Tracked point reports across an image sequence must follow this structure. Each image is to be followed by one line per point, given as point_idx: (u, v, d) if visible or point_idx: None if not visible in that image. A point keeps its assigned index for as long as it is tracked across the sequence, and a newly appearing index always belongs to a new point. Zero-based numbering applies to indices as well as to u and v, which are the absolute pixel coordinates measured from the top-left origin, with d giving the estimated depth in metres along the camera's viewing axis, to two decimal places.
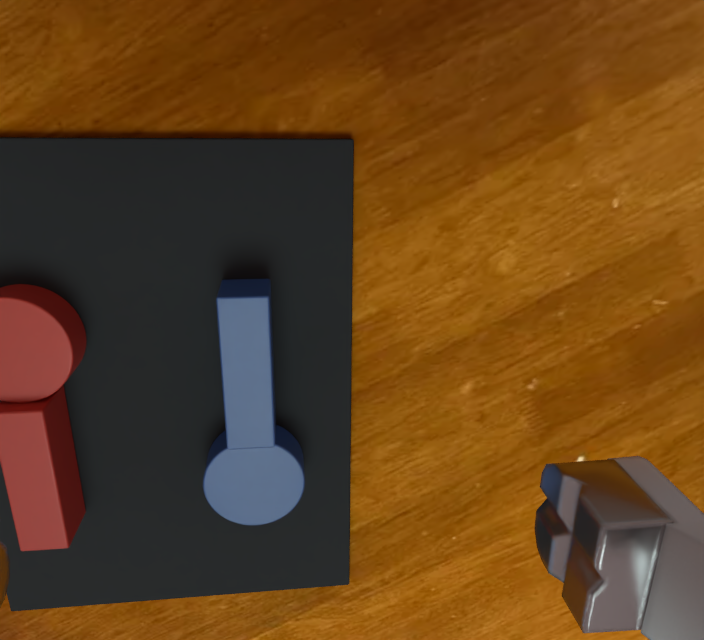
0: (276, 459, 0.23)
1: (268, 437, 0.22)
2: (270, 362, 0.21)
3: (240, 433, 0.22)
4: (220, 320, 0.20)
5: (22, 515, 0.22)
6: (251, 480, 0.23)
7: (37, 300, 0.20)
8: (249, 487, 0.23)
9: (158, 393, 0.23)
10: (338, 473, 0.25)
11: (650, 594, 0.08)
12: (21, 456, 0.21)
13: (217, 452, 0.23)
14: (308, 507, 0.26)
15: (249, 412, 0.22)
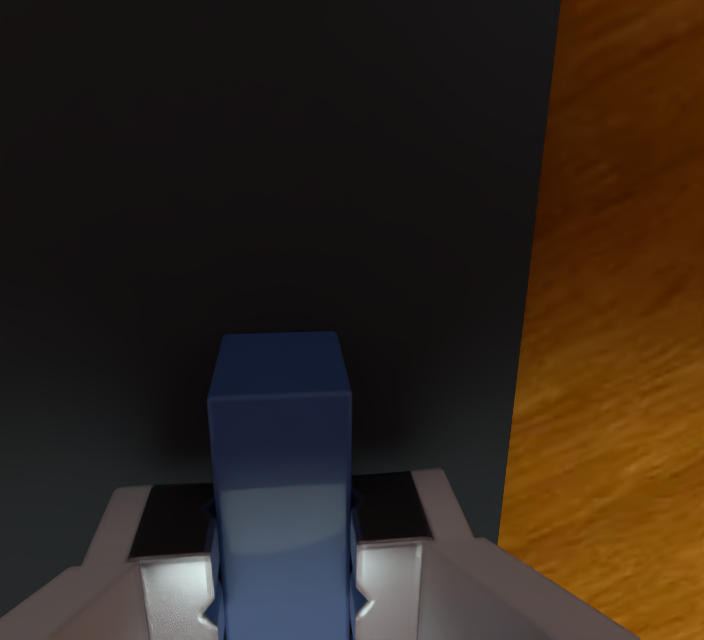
0: None
1: None
2: (347, 552, 0.08)
3: None
4: (219, 457, 0.07)
5: None
6: None
7: None
8: None
9: None
10: None
11: (419, 614, 0.07)
12: None
13: None
14: None
15: None
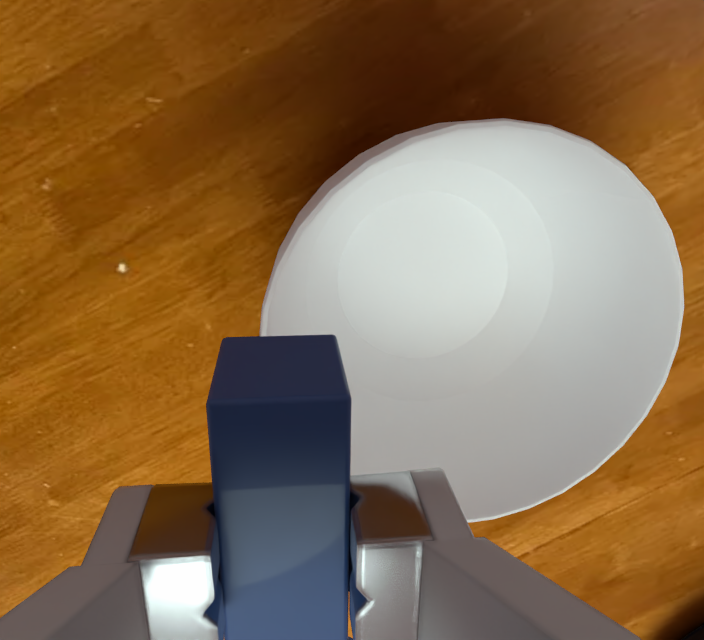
0: None
1: None
2: (345, 555, 0.08)
3: None
4: (218, 461, 0.07)
5: None
6: None
7: None
8: None
9: None
10: None
11: (420, 615, 0.07)
12: None
13: None
14: None
15: None
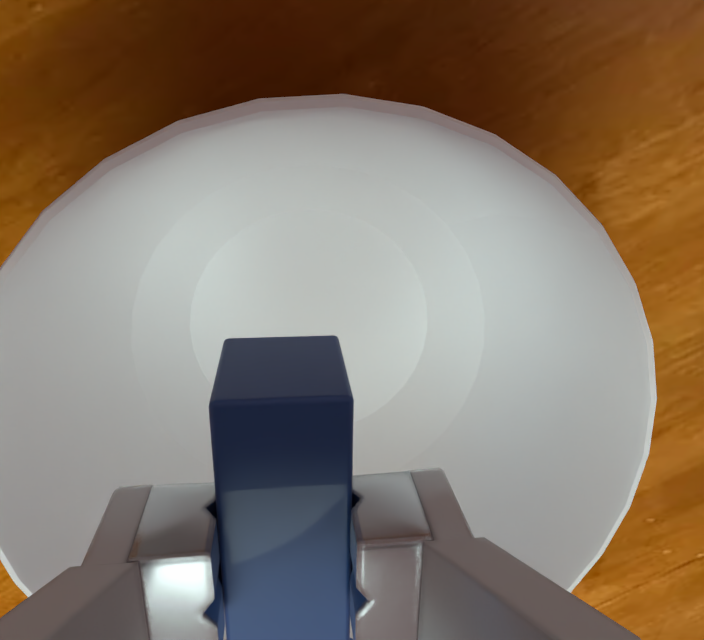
0: None
1: None
2: (347, 556, 0.08)
3: None
4: (220, 462, 0.07)
5: None
6: None
7: None
8: None
9: None
10: None
11: (419, 615, 0.07)
12: None
13: None
14: None
15: None
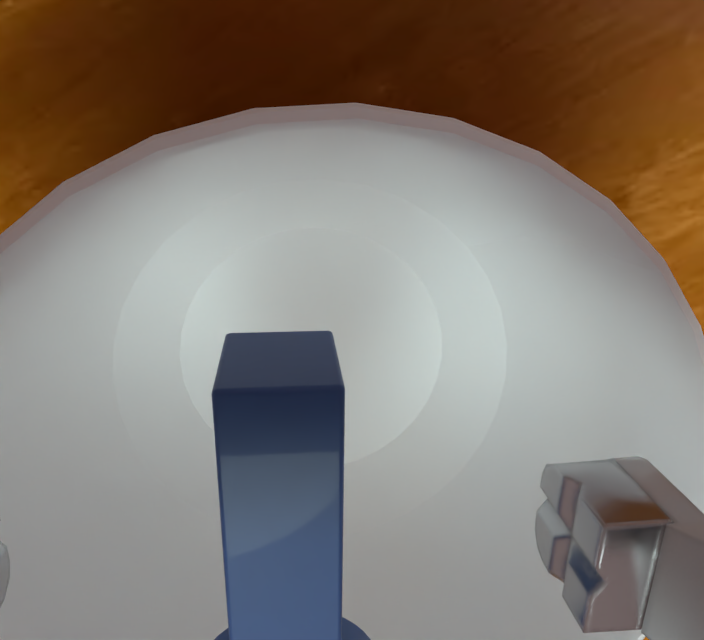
0: None
1: None
2: (340, 535, 0.09)
3: None
4: (222, 446, 0.08)
5: None
6: None
7: None
8: None
9: None
10: None
11: (649, 595, 0.08)
12: None
13: None
14: None
15: (286, 638, 0.09)
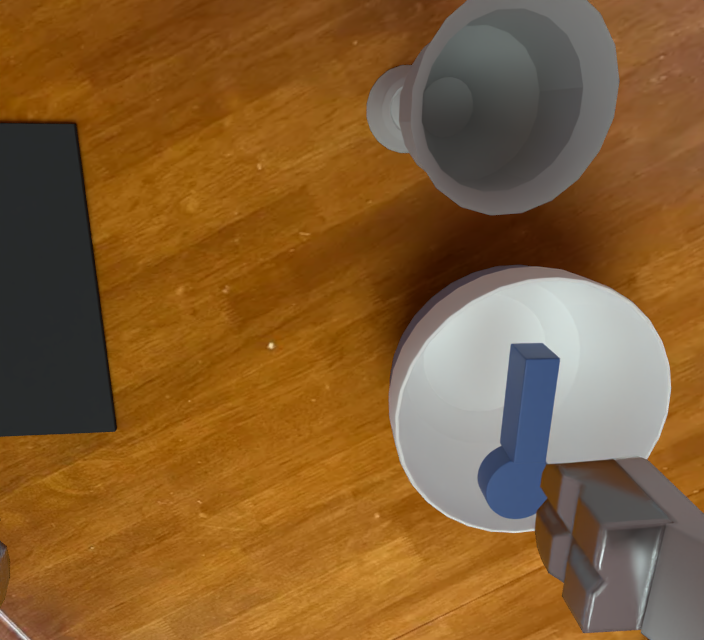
0: (539, 471, 0.32)
1: (543, 455, 0.31)
2: (553, 403, 0.30)
3: (524, 452, 0.31)
4: (526, 374, 0.29)
5: None
6: (520, 486, 0.32)
7: None
8: (517, 491, 0.32)
9: None
10: (95, 348, 0.38)
11: (650, 595, 0.08)
12: None
13: (499, 465, 0.32)
14: (78, 372, 0.39)
15: (533, 437, 0.31)
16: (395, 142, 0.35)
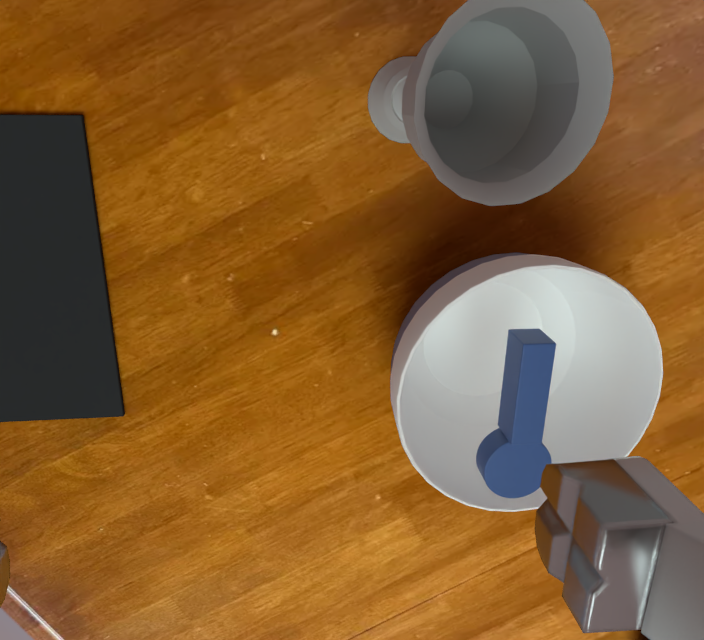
0: (536, 452, 0.33)
1: (539, 436, 0.32)
2: (549, 386, 0.31)
3: (521, 434, 0.32)
4: (523, 359, 0.30)
5: None
6: (517, 466, 0.34)
7: None
8: (514, 471, 0.34)
9: None
10: (104, 334, 0.39)
11: (650, 595, 0.08)
12: None
13: (497, 446, 0.33)
14: (87, 358, 0.40)
15: (530, 419, 0.32)
16: (396, 132, 0.36)
